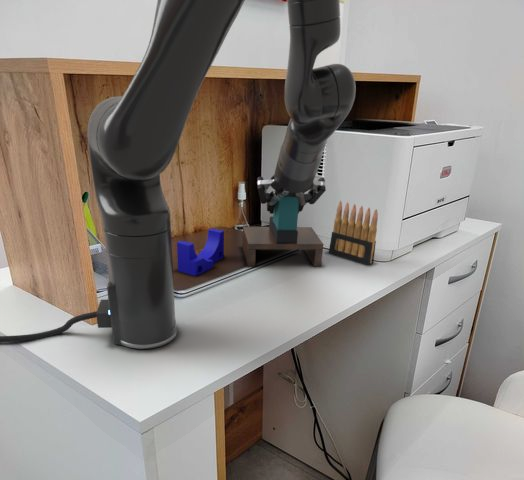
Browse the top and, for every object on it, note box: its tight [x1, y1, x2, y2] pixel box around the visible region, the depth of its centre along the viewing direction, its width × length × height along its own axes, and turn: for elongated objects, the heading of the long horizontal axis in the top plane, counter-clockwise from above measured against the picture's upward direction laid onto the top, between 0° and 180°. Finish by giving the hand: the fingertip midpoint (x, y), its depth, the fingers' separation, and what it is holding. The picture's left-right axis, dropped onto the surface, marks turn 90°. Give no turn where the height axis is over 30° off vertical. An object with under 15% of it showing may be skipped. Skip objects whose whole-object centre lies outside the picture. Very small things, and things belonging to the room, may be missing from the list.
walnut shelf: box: [241, 226, 324, 268], centre depth 110 cm, size 16×12×5 cm
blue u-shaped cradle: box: [176, 228, 225, 277], centre depth 103 cm, size 12×4×6 cm, turn 149°
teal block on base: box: [268, 196, 299, 243], centre depth 106 cm, size 4×11×10 cm, turn 7°
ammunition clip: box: [328, 200, 379, 266], centre depth 109 cm, size 11×2×12 cm, turn 51°
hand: (283, 209), depth 106 cm, fingers open, 5 cm apart
